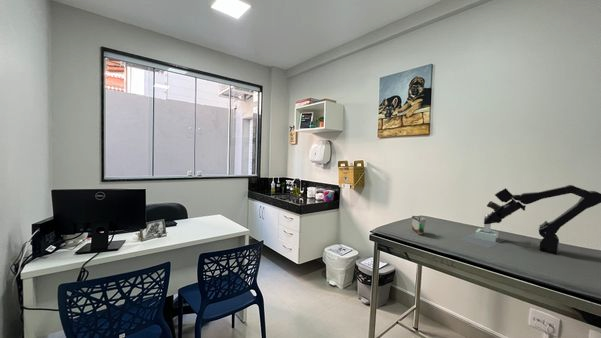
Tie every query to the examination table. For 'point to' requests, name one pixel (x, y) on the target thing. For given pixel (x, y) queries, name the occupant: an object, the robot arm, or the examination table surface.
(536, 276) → the examination table surface
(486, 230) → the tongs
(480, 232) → the holder
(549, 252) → the robot arm
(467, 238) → the instrument mat
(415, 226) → the food container
